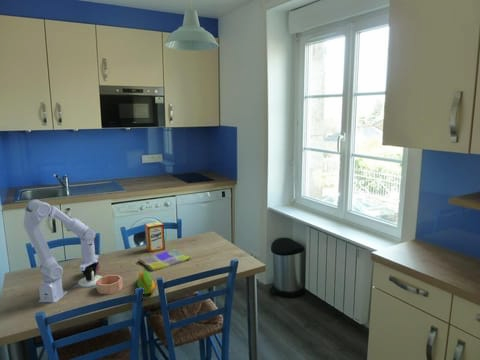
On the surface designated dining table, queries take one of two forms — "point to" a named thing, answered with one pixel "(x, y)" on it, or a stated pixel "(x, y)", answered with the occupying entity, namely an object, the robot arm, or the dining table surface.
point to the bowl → (109, 284)
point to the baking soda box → (155, 236)
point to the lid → (85, 283)
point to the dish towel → (163, 260)
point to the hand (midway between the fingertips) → (90, 278)
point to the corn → (146, 282)
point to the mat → (83, 287)
